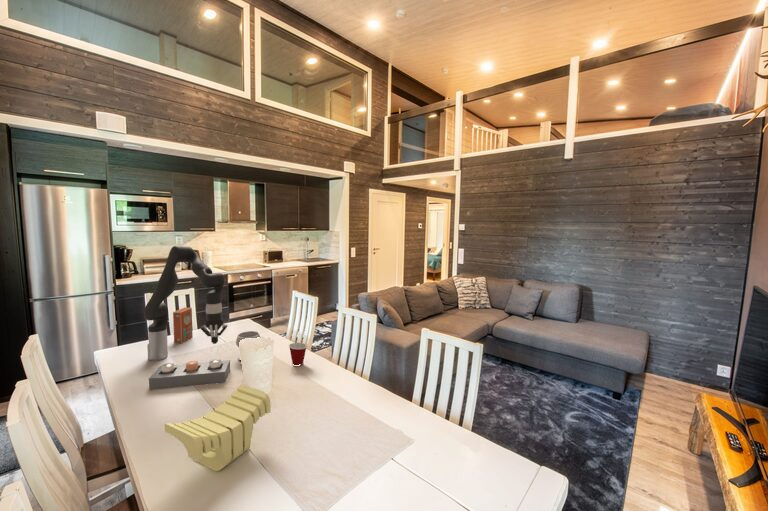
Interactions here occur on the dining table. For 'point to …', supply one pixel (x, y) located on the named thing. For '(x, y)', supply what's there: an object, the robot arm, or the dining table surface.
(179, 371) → the console
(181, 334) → the orange cracker box
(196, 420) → the slatted curved stool
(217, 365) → the right knob
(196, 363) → the middle knob
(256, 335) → the chalice
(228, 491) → the dining table surface
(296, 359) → the plastic cup
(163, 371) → the left knob
